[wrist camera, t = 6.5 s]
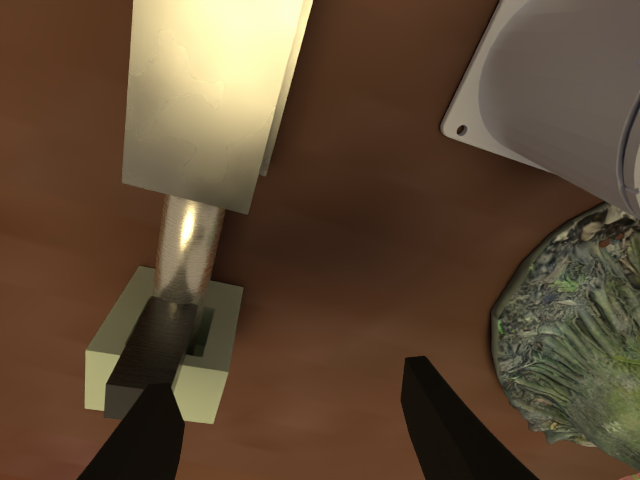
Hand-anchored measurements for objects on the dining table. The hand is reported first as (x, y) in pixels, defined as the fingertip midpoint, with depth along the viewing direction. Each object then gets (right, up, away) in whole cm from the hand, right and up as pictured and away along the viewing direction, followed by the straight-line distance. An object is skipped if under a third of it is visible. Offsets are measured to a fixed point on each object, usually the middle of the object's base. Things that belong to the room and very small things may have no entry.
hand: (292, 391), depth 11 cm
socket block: (-7, +1, +11) cm, 13 cm away
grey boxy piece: (-3, +13, +5) cm, 14 cm away
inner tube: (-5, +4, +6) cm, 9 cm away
